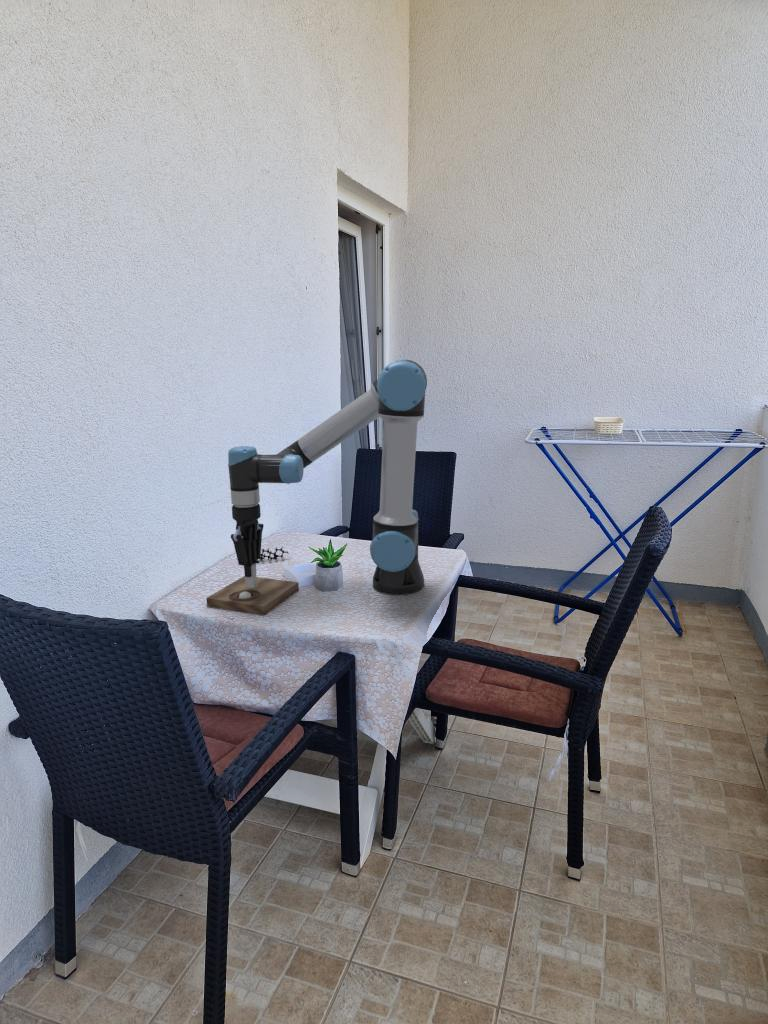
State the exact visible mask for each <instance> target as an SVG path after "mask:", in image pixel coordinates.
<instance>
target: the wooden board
mask: <svg viewBox="0 0 768 1024" xmlns="http://www.w3.org/2000/svg"><path fill="white" fill-rule="evenodd" d="M256 577H257V587H255V588H250V587H246V582H245V575H243V576H242V577H240V578H238V579H237V580H235V581H233V582H232V583H229V584H228V585H227V586H226V585H225V587H222V588H221V589H219V590H218V591H216V592H214V593H212V594H211V595H209V596H208V597H206V607H207V606H209V607H208V608H213V607H215V608H214V609H219V608H222V609H221V610H226V609H227V611H232V610H234V612H239V611H240V612H241V613H248V614H254V615H258V616H259V615H260V616H266V615H267V614H268V613H269V612H271V611H273V610H274V609H275V608H277V607H278V606H279V605H281V604H282V603H283V602H285V601H287V600H288V599H289V598H291V597H292V596H293V595H294V594H297V592H299V588H300V587H299V586H300V585H299V581H298V582H297V581H292V580H291V581H290V580H283V579H275V578H267V577H259V576H256ZM242 592H249V593H250V594H251V597H250V598H247V599H240V598H239V595H240V594H241V593H242Z"/></svg>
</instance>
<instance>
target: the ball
mask: <svg viewBox="0 0 768 1024" xmlns="http://www.w3.org/2000/svg"><path fill="white" fill-rule="evenodd" d="M250 597H251V594H250V593H249V592H242V593H241V594H240V595H239V598H240V599H247V598H250Z"/></svg>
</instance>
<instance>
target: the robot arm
mask: <svg viewBox="0 0 768 1024" xmlns="http://www.w3.org/2000/svg"><path fill="white" fill-rule="evenodd" d="M427 386H428V377H427V375H426V372H425V370H424V368H423V367H422V366H421V365H420V364H419V363H417V362H416V361H413V360H410V359H401V360H395V361H392V362H389V364H387V365H386V366H385V367H384V368H383V369H382V370H381V372H380V374H379V377H378V379H376V380H374V382H372V383H371V387H370V389H368V390H367V391H365V392H364V393H362V394H361V395H360V396H358V397H357V398H356V399H354V400H353V401H351V402H349V403H348V404H347V405H345V406H344V407H342V409H340V410H338V411H337V412H335V413H334V414H333V415H331V416H330V417H328V418H327V419H326V420H324V421H323V422H321V423H320V424H318V425H317V426H316V427H314V428H313V429H311V430H309V432H307V433H306V434H304V435H302V436H301V437H300V438H298V439H297V440H296V441H294V442H292V443H291V444H290V445H289V446H286V447H285V448H284V449H283V450H281V451H279V452H278V453H276V454H258V452H257V448H256V447H255V446H249V445H247V446H246V445H241V446H240V445H239V446H233V447H231V448H230V449H229V450H228V454H227V455H228V460H227V461H228V463H227V467H228V475H229V484H230V485H229V487H230V499H231V501H230V502H231V505H232V506H231V513H232V514H231V515H232V516H231V517H232V519H233V520H234V521H235V522H236V523H235V532H234V533H231V534H230V539H231V541H232V542H233V546H234V547H233V548H234V551H235V555H236V558H237V563H238V565H239V566H243V570H244V576H245V582H246V587H250V588H255V587H257V577H258V576H257V564H259V563H260V562H261V561H259V560H260V556H261V554H262V550H261V549H262V541H263V530H264V523H259V519H260V518H261V516H262V515H261V514H262V513H261V505H260V504H259V503H260V501H261V499H260V498H261V497H260V485H259V484H287V485H289V484H297V483H301V482H302V480H303V477H304V469H305V468H307V467H308V466H309V465H311V464H313V462H315V461H316V460H318V459H320V458H321V457H323V456H325V455H326V454H327V453H329V452H330V451H331V450H332V449H334V448H336V447H337V446H338V445H340V444H342V443H343V442H344V441H346V440H347V439H349V438H351V437H352V436H353V435H355V434H356V433H358V432H359V431H361V430H362V429H364V428H366V427H367V426H369V425H370V424H371V423H372V422H374V421H376V420H377V419H378V418H381V419H382V421H383V430H382V431H383V433H382V434H383V435H382V448H381V449H382V450H381V451H382V452H381V453H382V455H381V472H380V491H379V492H380V495H379V511H378V512H377V513H376V514H375V515H374V516H373V520H372V521H373V522H372V540H371V542H370V545H369V551H370V556H371V560H372V561H373V563H374V564H375V566H376V568H375V570H374V574H373V577H372V587H373V590H376V591H377V592H380V593H382V594H387V595H399V596H400V595H410V594H413V593H414V594H415V593H417V592H419V591H421V590H423V589H424V587H425V576H424V573H423V570H422V568H421V565H420V562H419V561H420V560H419V521H420V519H419V514H418V511H417V510H416V509H413V504H414V503H413V501H414V500H413V499H414V484H415V468H416V451H417V435H418V424H419V421H420V420H422V419H423V418H424V416H425V403H426V389H427ZM257 559H258V560H257Z"/></svg>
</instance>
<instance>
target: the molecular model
mask: <svg viewBox="0 0 768 1024" xmlns="http://www.w3.org/2000/svg"><path fill="white" fill-rule="evenodd" d="M283 548H284V546H281V548H280V549H279V548H278V546H275V547H274V549H275V551H274V552H272V550H270V547H268V548H267V550H265V547H263V548H261V556H260V559H257V560H258V561H260V562H261V563H262V564H264V560H265V559H266V558H267V560H268V561H269V562H270V563H271V562H272V560H276V561H279V557H280V558H281V559H282V560H283V559H285V557H284V554H285V553H286V554H287V555H290V552H289V551H285V550H284V549H283ZM278 551H279V552H281V553H282V554H281V555H278V554H277V552H278ZM272 555H273V557H272Z"/></svg>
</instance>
